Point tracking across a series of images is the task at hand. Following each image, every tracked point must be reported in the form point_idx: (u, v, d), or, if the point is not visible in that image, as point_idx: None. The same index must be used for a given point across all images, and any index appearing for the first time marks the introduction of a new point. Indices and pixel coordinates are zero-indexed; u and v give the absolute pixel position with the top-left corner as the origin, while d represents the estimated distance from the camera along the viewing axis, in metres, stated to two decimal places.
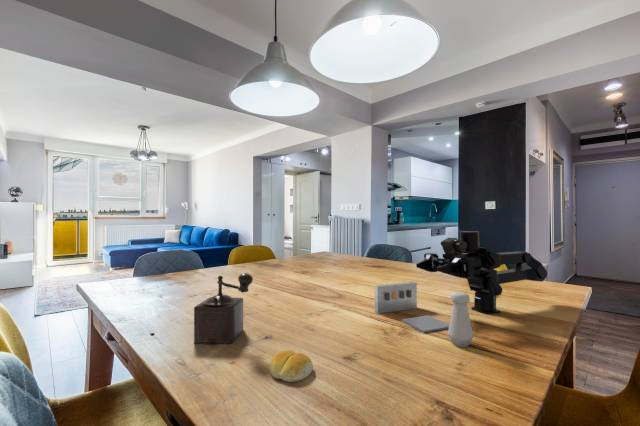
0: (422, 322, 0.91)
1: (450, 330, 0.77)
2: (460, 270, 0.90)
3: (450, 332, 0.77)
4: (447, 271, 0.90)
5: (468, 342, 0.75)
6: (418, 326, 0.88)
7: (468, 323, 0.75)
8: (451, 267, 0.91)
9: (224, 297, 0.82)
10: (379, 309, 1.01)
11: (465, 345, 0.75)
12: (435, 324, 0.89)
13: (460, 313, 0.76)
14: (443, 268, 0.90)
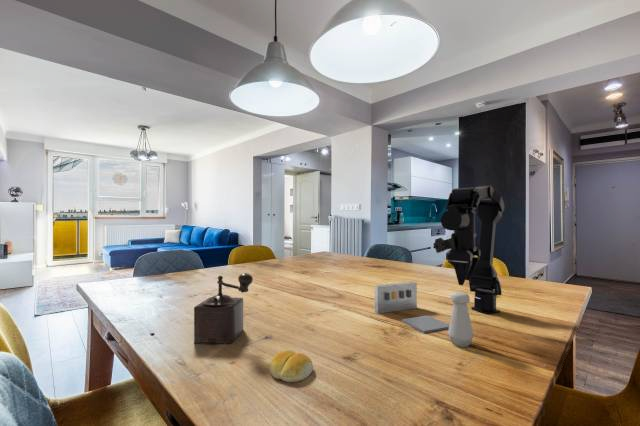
0: (422, 322, 0.91)
1: (450, 330, 0.77)
2: (462, 263, 0.83)
3: (450, 332, 0.77)
4: (463, 275, 0.85)
5: (468, 342, 0.75)
6: (418, 326, 0.88)
7: (468, 323, 0.75)
8: (459, 269, 0.85)
9: (224, 297, 0.82)
10: (379, 309, 1.01)
11: (465, 345, 0.75)
12: (435, 324, 0.89)
13: (460, 313, 0.76)
14: (459, 278, 0.85)
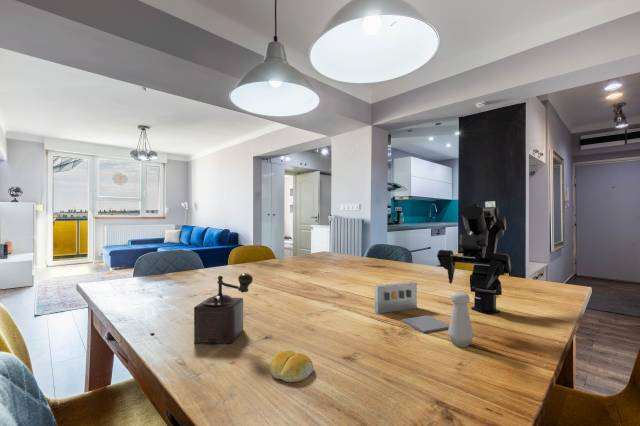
0: (422, 322, 0.91)
1: (450, 330, 0.77)
2: (499, 270, 0.83)
3: (450, 332, 0.77)
4: (492, 280, 0.82)
5: (468, 342, 0.75)
6: (418, 326, 0.88)
7: (468, 323, 0.75)
8: (493, 274, 0.82)
9: (224, 297, 0.82)
10: (379, 309, 1.01)
11: (465, 345, 0.75)
12: (435, 324, 0.89)
13: (460, 313, 0.76)
14: None
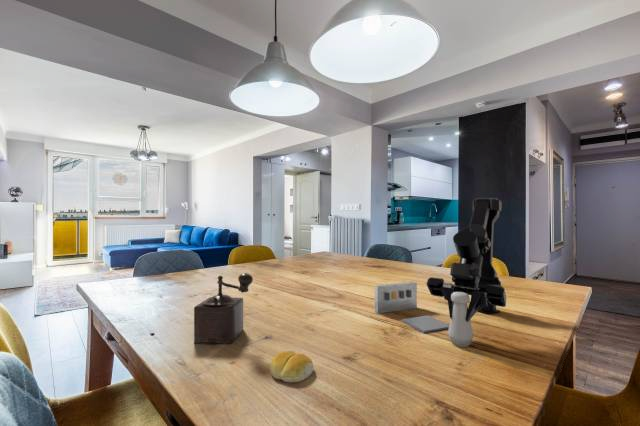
0: (422, 322, 0.91)
1: (450, 330, 0.77)
2: (481, 302, 0.77)
3: (450, 332, 0.77)
4: (473, 313, 0.76)
5: (468, 342, 0.75)
6: (418, 326, 0.88)
7: (468, 323, 0.75)
8: (474, 305, 0.77)
9: (224, 297, 0.82)
10: (379, 309, 1.01)
11: (465, 345, 0.75)
12: (435, 324, 0.89)
13: (460, 313, 0.76)
14: (470, 314, 0.76)
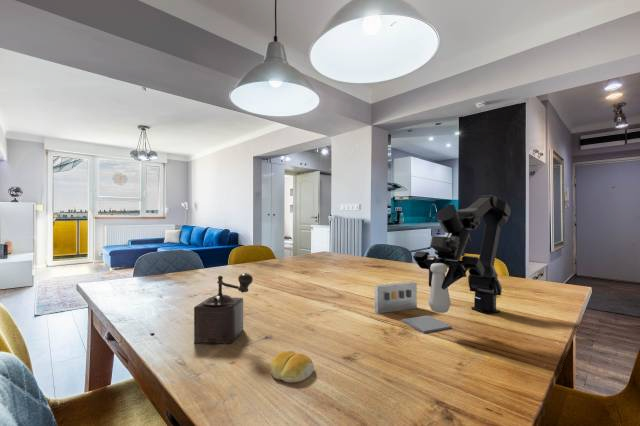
0: (422, 322, 0.91)
1: (429, 297, 0.84)
2: (460, 272, 0.83)
3: (429, 299, 0.84)
4: (451, 282, 0.82)
5: (444, 308, 0.81)
6: (418, 326, 0.88)
7: (445, 291, 0.81)
8: (452, 275, 0.82)
9: (224, 297, 0.82)
10: (379, 309, 1.01)
11: (442, 311, 0.81)
12: (435, 324, 0.89)
13: (437, 281, 0.82)
14: (446, 282, 0.82)
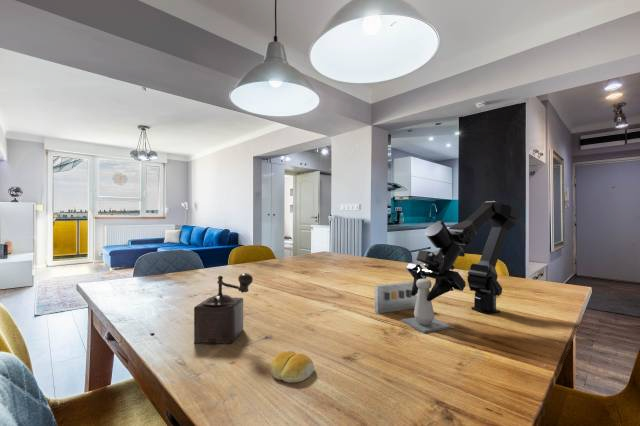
0: None
1: (414, 310, 0.91)
2: (447, 286, 0.87)
3: (414, 312, 0.91)
4: (437, 294, 0.87)
5: (426, 321, 0.88)
6: (418, 326, 0.88)
7: (427, 305, 0.88)
8: (438, 288, 0.87)
9: (224, 297, 0.82)
10: (379, 309, 1.01)
11: (424, 323, 0.88)
12: (435, 324, 0.89)
13: (421, 296, 0.89)
14: (432, 295, 0.87)
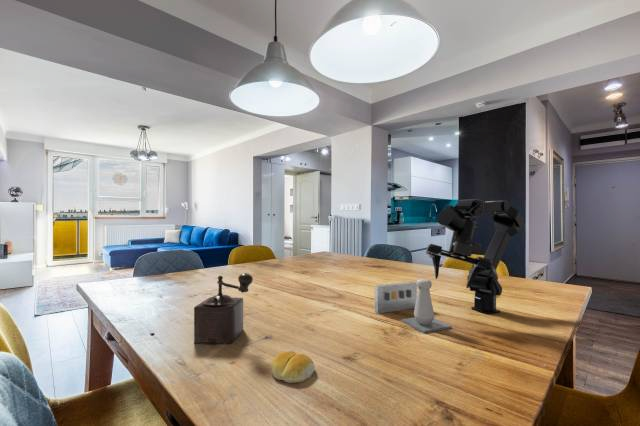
0: None
1: (414, 310, 0.91)
2: None
3: (414, 312, 0.91)
4: None
5: (426, 321, 0.88)
6: (418, 326, 0.88)
7: (427, 305, 0.88)
8: None
9: (224, 297, 0.82)
10: (379, 309, 1.01)
11: (424, 323, 0.88)
12: (435, 324, 0.89)
13: (421, 296, 0.89)
14: (470, 282, 0.93)
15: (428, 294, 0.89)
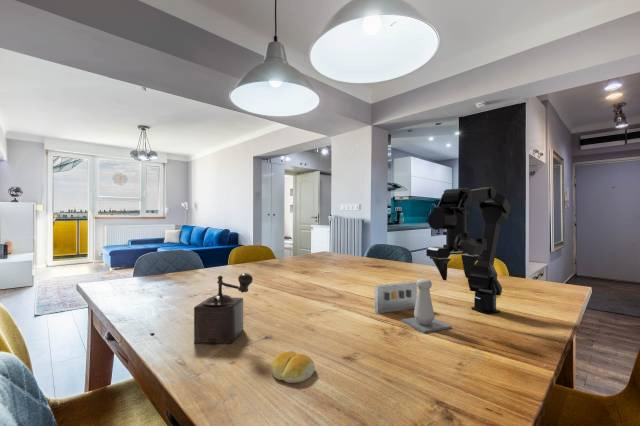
0: None
1: (414, 310, 0.91)
2: None
3: (414, 312, 0.91)
4: None
5: (426, 321, 0.88)
6: (418, 326, 0.88)
7: (427, 305, 0.88)
8: None
9: (224, 297, 0.82)
10: (379, 309, 1.01)
11: (424, 323, 0.88)
12: (435, 324, 0.89)
13: (421, 296, 0.89)
14: None
15: (428, 294, 0.89)
